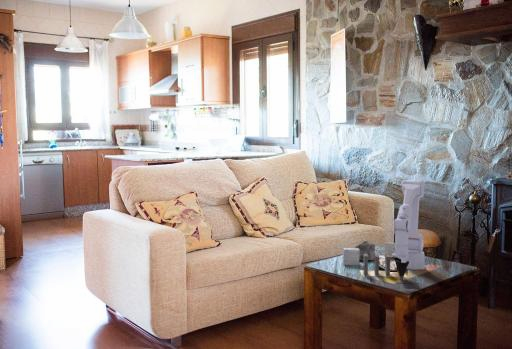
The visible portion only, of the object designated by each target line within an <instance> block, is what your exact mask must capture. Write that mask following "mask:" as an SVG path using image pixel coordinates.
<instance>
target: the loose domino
mask: <svg viewBox="0 0 512 349" xmlns="http://www.w3.org/2000/svg"><path fill="white" fill-rule="evenodd" d="M397 279H398V280H399V282H402V281H404V277H403V276H399V271H398V277H397Z"/></svg>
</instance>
